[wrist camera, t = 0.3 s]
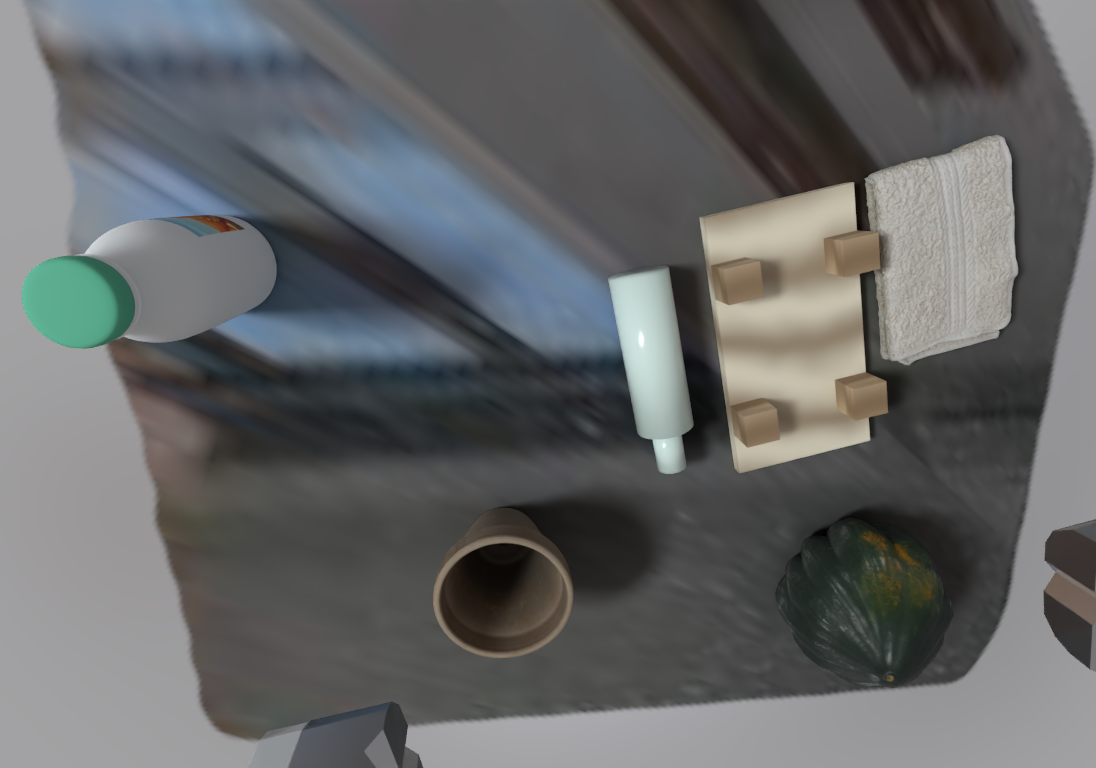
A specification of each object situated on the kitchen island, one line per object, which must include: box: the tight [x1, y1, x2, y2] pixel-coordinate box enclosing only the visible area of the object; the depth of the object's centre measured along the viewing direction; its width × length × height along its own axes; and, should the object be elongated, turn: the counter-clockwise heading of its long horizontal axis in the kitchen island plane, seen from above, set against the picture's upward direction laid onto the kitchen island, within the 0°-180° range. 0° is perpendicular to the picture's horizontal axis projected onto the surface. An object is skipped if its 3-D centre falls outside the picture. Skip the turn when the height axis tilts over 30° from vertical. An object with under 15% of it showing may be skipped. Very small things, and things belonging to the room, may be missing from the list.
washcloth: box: [865, 135, 1018, 365], centre depth 54 cm, size 12×18×3 cm, turn 16°
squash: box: [776, 518, 953, 688], centre depth 58 cm, size 14×15×15 cm
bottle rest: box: [700, 182, 888, 473], centre depth 54 cm, size 24×13×4 cm, turn 13°
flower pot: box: [433, 508, 574, 658], centre depth 54 cm, size 12×11×10 cm
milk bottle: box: [22, 215, 277, 348], centre depth 40 cm, size 8×8×20 cm
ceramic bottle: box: [608, 265, 694, 474], centre depth 53 cm, size 18×5×5 cm, turn 13°
